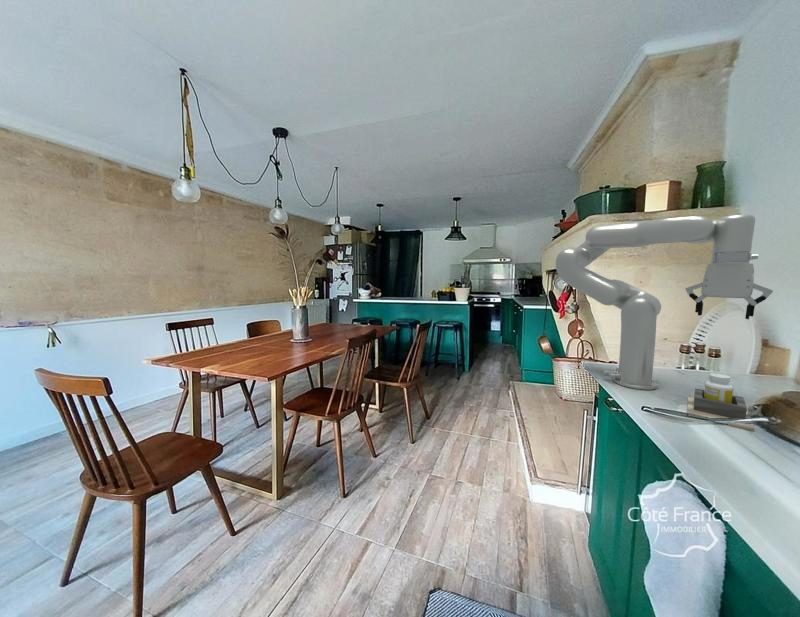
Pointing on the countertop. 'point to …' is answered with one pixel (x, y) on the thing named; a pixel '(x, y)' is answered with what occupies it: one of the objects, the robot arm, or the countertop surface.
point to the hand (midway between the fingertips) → (722, 316)
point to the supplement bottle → (718, 388)
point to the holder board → (718, 409)
